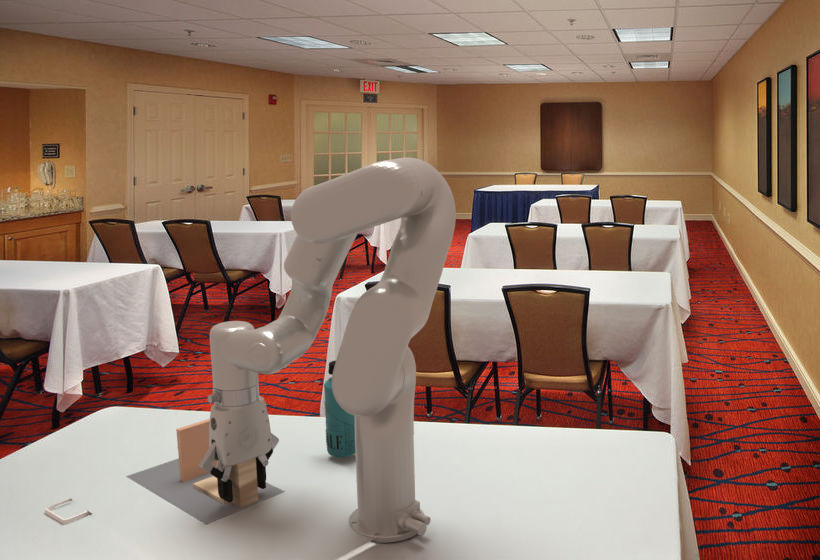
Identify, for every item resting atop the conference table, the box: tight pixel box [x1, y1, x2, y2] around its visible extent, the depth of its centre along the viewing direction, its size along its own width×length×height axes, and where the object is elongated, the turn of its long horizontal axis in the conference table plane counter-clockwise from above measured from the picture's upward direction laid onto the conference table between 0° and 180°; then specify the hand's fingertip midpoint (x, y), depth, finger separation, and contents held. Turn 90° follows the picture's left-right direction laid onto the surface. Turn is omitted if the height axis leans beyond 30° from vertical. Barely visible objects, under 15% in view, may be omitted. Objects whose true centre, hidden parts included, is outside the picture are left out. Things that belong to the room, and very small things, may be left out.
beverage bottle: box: [323, 360, 356, 458], centre depth 156 cm, size 6×7×20 cm
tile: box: [175, 418, 217, 482], centre depth 148 cm, size 1×8×10 cm, turn 136°
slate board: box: [126, 457, 286, 525], centre depth 145 cm, size 28×16×1 cm, turn 46°
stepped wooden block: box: [193, 458, 258, 507], centre depth 141 cm, size 13×6×8 cm, turn 46°
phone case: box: [44, 498, 93, 525], centre depth 141 cm, size 7×1×15 cm
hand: (243, 492), depth 138 cm, fingers open, 6 cm apart
